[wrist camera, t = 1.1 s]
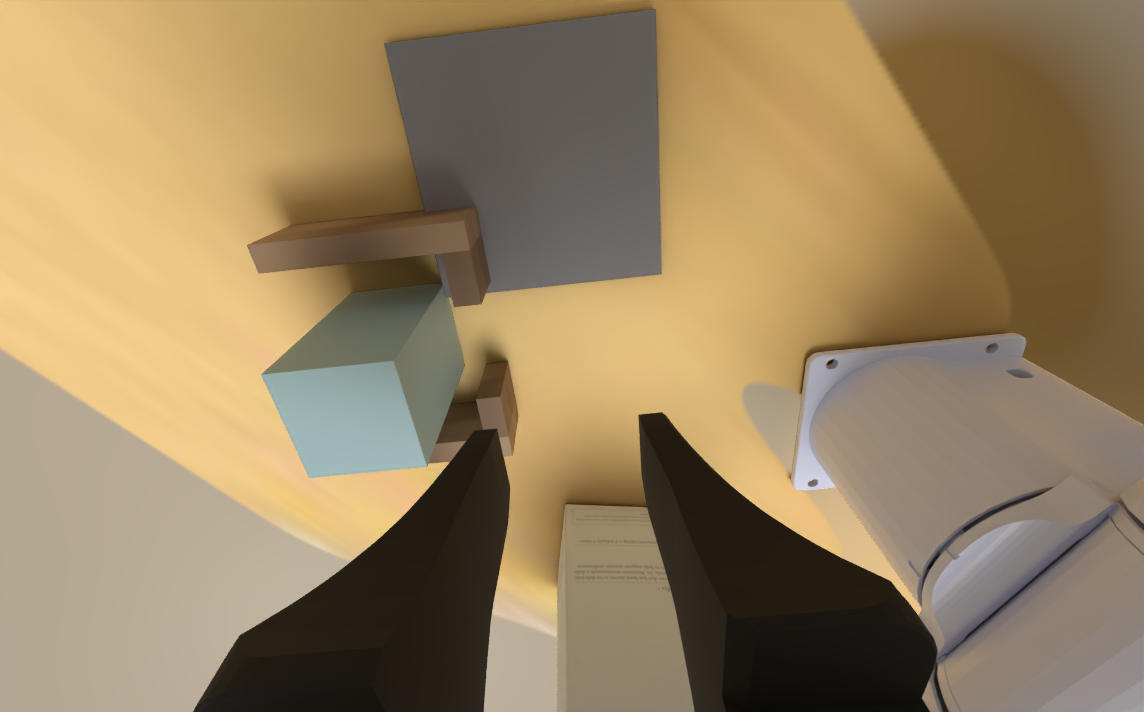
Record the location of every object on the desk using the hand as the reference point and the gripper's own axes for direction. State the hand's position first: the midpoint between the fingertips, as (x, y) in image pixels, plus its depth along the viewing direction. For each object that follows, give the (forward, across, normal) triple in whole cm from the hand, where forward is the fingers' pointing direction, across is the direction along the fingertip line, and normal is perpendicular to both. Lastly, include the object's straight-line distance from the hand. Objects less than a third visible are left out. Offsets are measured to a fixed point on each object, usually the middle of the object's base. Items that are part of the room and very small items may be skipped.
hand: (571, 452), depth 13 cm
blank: (+10, +7, 0) cm, 12 cm away
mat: (+9, 0, -6) cm, 11 cm away
